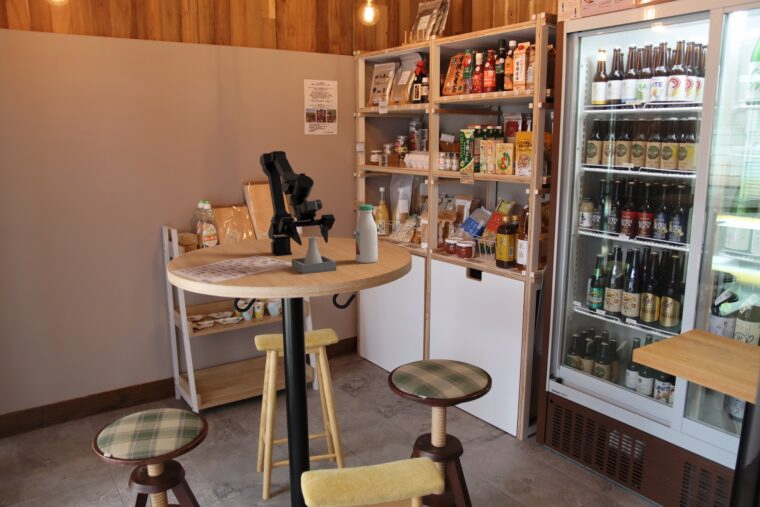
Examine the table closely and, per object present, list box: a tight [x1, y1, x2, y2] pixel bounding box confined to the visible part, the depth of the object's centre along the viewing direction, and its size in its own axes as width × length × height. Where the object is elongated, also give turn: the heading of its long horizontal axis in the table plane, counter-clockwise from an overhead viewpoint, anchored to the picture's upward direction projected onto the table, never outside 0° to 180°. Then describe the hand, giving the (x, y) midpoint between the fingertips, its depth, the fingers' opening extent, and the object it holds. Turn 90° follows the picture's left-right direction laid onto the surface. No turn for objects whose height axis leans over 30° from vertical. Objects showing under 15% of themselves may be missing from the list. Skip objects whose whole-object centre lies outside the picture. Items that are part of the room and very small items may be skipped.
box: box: [290, 255, 337, 275], centre depth 204 cm, size 12×12×3 cm
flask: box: [304, 236, 323, 264], centre depth 204 cm, size 7×7×10 cm
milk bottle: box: [355, 204, 379, 264], centre depth 215 cm, size 8×8×20 cm
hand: (314, 243), depth 202 cm, fingers open, 9 cm apart
